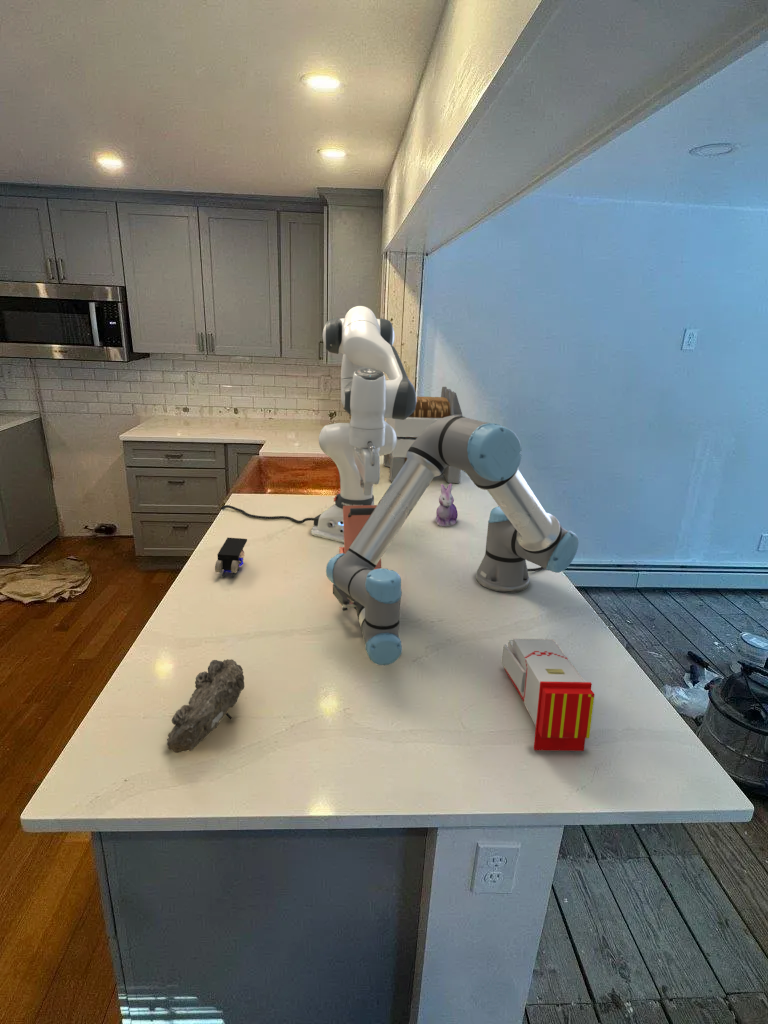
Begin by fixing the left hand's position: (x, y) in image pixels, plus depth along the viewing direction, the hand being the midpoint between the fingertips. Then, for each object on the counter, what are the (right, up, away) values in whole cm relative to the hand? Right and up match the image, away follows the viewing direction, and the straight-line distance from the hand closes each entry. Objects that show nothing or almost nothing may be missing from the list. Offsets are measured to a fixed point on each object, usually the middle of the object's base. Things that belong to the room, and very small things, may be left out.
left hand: (365, 490), depth 144 cm
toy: (+36, -45, -28) cm, 64 cm away
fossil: (-28, -45, -36) cm, 64 cm away
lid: (-1, -12, +8) cm, 14 cm away
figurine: (+28, -10, +68) cm, 74 cm away
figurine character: (-40, -23, +23) cm, 52 cm away
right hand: (-1, -22, +10) cm, 24 cm away
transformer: (+22, +13, +131) cm, 133 cm away
